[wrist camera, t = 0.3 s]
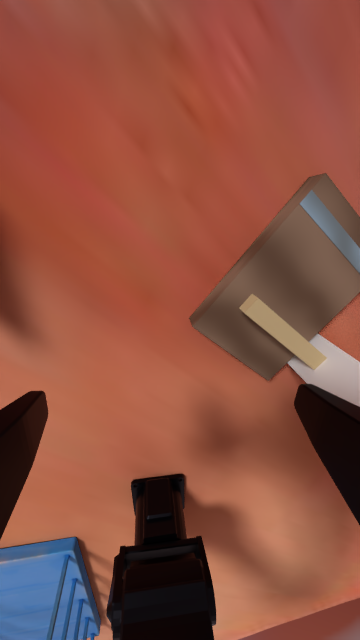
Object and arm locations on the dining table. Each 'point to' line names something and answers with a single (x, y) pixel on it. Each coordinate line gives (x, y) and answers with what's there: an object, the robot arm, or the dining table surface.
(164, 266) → the dining table surface
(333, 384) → the white box
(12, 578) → the file sorter
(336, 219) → the plank
